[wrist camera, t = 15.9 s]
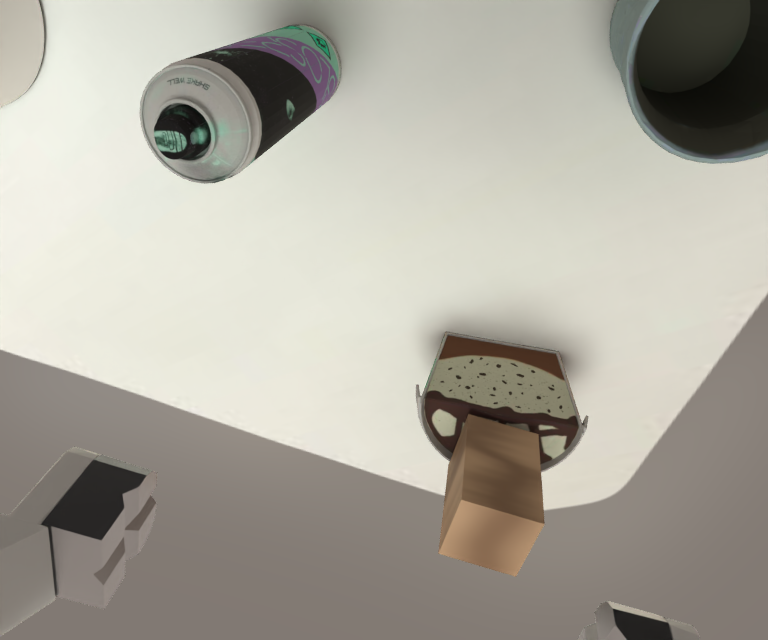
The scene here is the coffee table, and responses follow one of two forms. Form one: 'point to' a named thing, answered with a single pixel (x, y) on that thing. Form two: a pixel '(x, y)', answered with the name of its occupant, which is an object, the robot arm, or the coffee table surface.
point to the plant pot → (696, 74)
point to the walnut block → (493, 496)
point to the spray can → (236, 101)
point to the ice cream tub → (500, 395)
